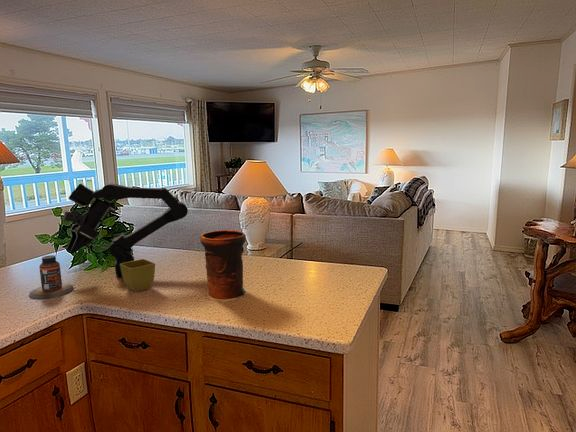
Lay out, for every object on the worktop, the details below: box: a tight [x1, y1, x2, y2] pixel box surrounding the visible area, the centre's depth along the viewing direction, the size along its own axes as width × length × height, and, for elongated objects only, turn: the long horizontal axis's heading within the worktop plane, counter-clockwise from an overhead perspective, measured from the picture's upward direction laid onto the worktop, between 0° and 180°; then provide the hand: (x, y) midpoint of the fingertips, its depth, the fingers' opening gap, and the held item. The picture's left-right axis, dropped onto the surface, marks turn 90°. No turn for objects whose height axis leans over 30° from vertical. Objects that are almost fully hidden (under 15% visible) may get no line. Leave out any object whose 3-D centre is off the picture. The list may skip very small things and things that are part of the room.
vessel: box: [199, 229, 247, 302], centre depth 131 cm, size 14×14×20 cm
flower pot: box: [120, 258, 156, 293], centre depth 138 cm, size 9×9×9 cm
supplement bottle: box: [39, 254, 63, 292], centre depth 136 cm, size 6×6×11 cm
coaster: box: [28, 282, 74, 300], centre depth 137 cm, size 13×13×1 cm
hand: (69, 251), depth 142 cm, fingers open, 9 cm apart
